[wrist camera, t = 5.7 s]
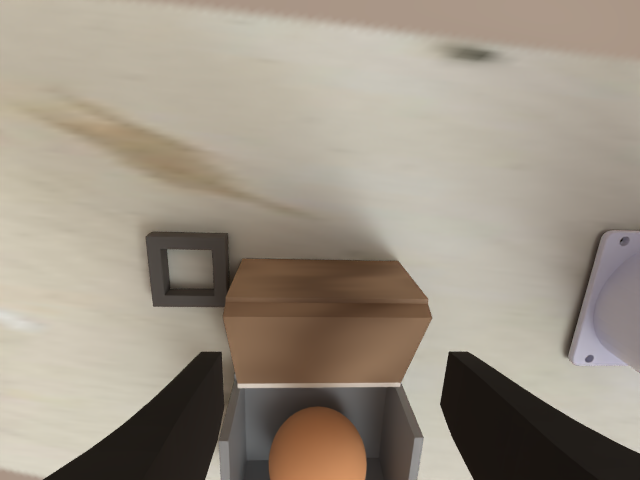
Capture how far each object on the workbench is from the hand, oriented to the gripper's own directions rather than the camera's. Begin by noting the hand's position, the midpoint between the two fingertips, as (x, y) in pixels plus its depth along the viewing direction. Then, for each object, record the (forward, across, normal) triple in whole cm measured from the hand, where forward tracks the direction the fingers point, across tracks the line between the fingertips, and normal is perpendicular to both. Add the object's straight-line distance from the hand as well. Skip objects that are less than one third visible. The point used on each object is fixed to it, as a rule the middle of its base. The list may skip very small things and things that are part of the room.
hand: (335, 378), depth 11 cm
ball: (+5, 0, +9) cm, 10 cm away
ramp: (+8, 0, +2) cm, 8 cm away
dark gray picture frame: (+8, +6, -1) cm, 10 cm away
